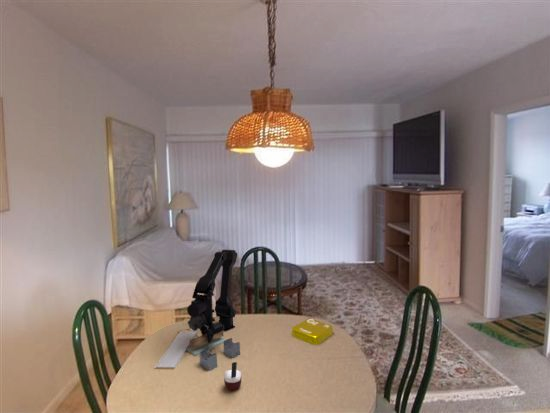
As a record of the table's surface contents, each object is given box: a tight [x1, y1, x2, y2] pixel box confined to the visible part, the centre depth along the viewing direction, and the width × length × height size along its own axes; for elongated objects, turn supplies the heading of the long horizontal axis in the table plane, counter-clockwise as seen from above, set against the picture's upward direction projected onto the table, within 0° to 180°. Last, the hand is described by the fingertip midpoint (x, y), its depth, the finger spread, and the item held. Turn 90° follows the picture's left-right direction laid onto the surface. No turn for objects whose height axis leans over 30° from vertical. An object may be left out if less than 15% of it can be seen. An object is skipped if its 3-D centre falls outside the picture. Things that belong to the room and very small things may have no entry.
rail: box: [189, 331, 224, 349], centre depth 152 cm, size 16×3×3 cm, turn 136°
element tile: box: [291, 318, 334, 346], centre depth 161 cm, size 15×15×5 cm
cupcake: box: [223, 361, 242, 391], centre depth 122 cm, size 10×6×12 cm, turn 175°
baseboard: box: [153, 328, 197, 370], centre depth 150 cm, size 30×3×10 cm
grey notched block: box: [199, 349, 218, 372], centre depth 136 cm, size 4×6×6 cm, turn 46°
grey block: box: [223, 337, 241, 359], centre depth 145 cm, size 4×6×6 cm, turn 46°
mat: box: [186, 336, 227, 357], centre depth 153 cm, size 17×7×1 cm, turn 136°
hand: (207, 341), depth 153 cm, fingers closed on rail, 3 cm apart
